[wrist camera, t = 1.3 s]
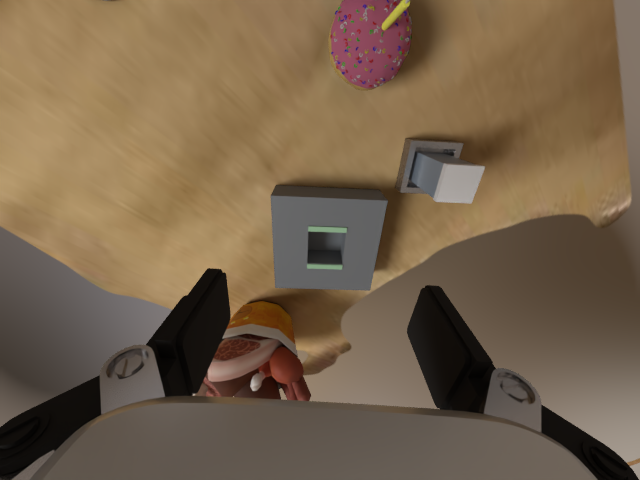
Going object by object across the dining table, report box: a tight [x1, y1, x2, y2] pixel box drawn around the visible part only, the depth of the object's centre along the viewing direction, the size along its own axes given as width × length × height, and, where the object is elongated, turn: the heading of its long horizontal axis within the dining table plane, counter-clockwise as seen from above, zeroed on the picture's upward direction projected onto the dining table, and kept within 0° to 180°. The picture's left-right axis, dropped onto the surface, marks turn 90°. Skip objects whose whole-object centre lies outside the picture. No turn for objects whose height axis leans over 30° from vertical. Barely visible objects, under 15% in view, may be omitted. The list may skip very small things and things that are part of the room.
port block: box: [271, 185, 388, 290], centre depth 39 cm, size 16×16×5 cm
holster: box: [395, 139, 464, 194], centre depth 35 cm, size 7×7×2 cm
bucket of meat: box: [192, 301, 311, 401], centre depth 42 cm, size 20×16×20 cm
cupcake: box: [328, 0, 412, 90], centre depth 24 cm, size 9×8×12 cm
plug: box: [409, 151, 485, 203], centre depth 31 cm, size 4×4×10 cm
